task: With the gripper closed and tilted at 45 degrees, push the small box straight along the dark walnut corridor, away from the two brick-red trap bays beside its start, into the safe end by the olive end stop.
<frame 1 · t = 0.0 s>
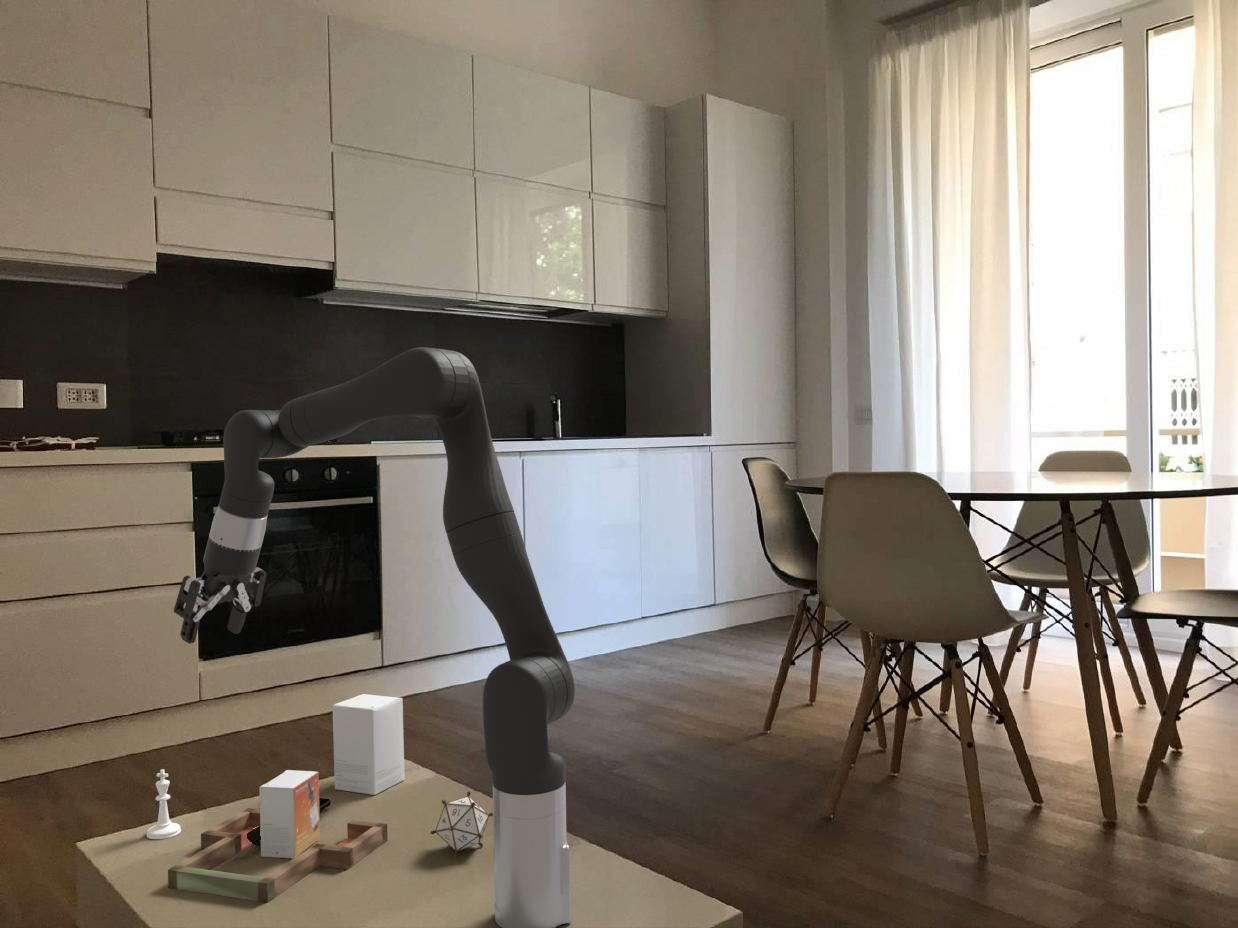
hand: (211, 636, 156), 31 cm above the table, tool tilted 20°, fingers open, 8 cm apart
small box: (291, 849, 154), on the table
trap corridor: (278, 855, 151), on the table
game die: (462, 850, 153), on the table
supplement box: (370, 785, 182), on the table
chess piece: (164, 834, 161), on the table
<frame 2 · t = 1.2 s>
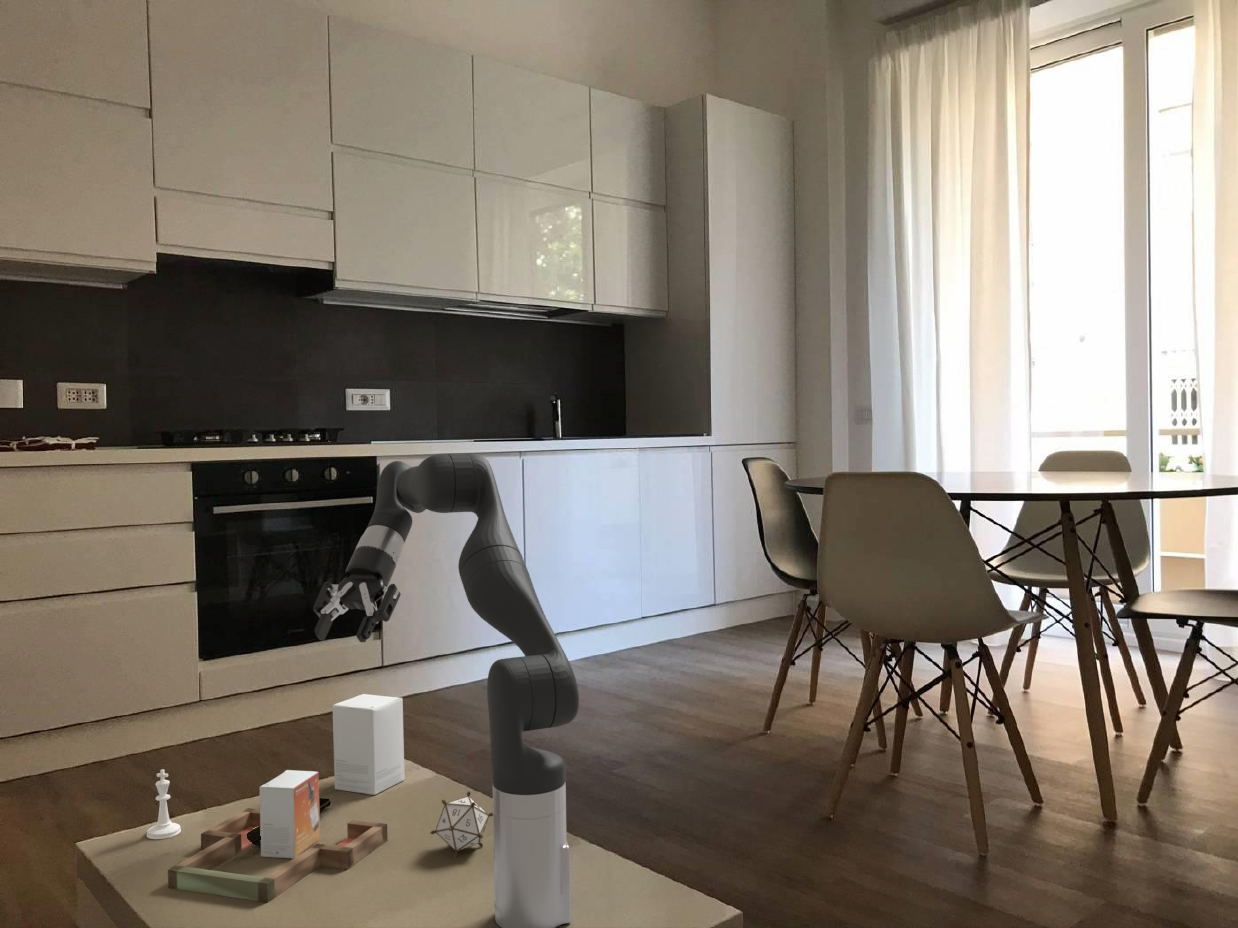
hand: (339, 638, 167), 29 cm above the table, tool tilted 45°, fingers open, 7 cm apart
nothing on the table moved.
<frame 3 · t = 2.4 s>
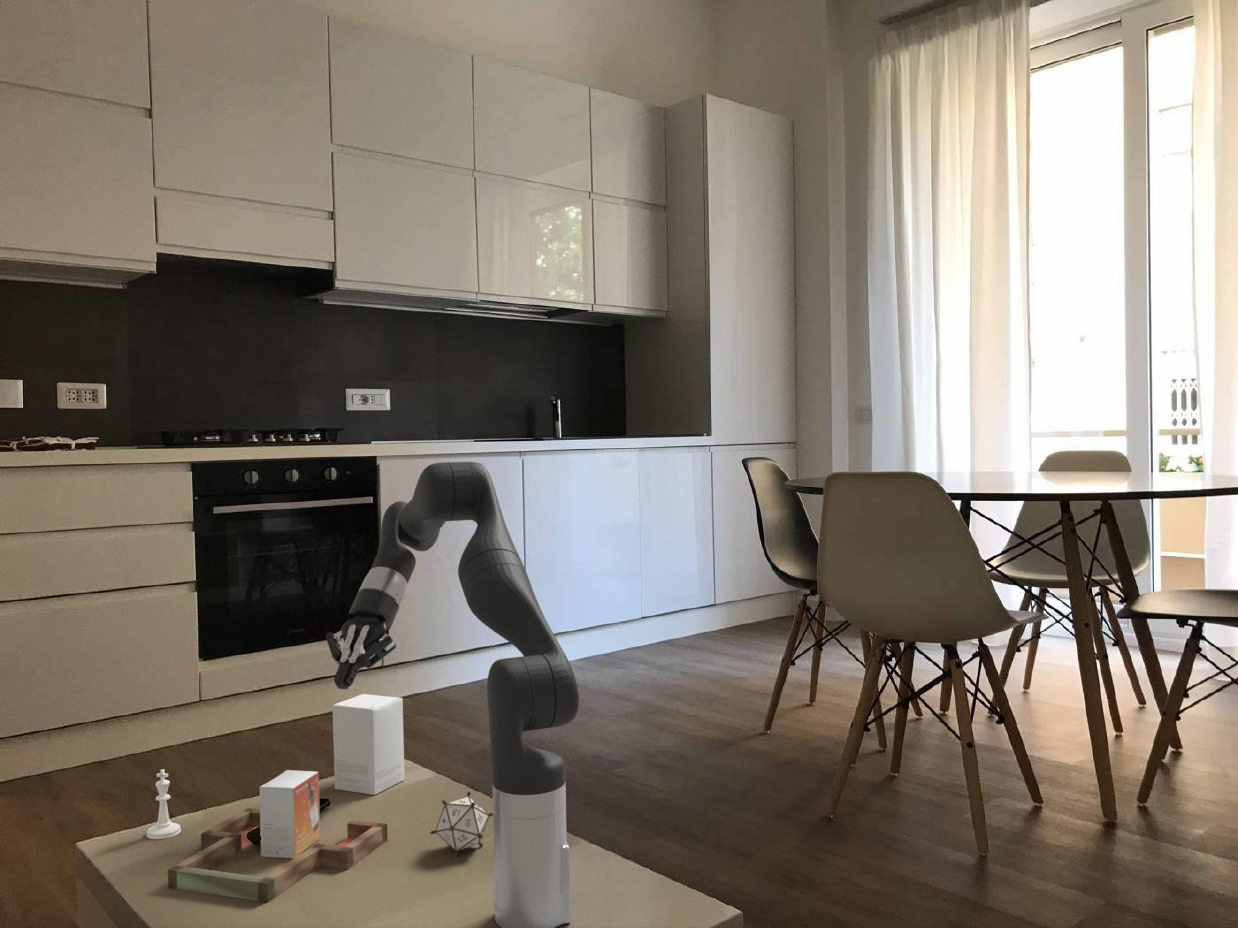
hand: (340, 686, 167), 21 cm above the table, tool tilted 45°, fingers closed
nothing on the table moved.
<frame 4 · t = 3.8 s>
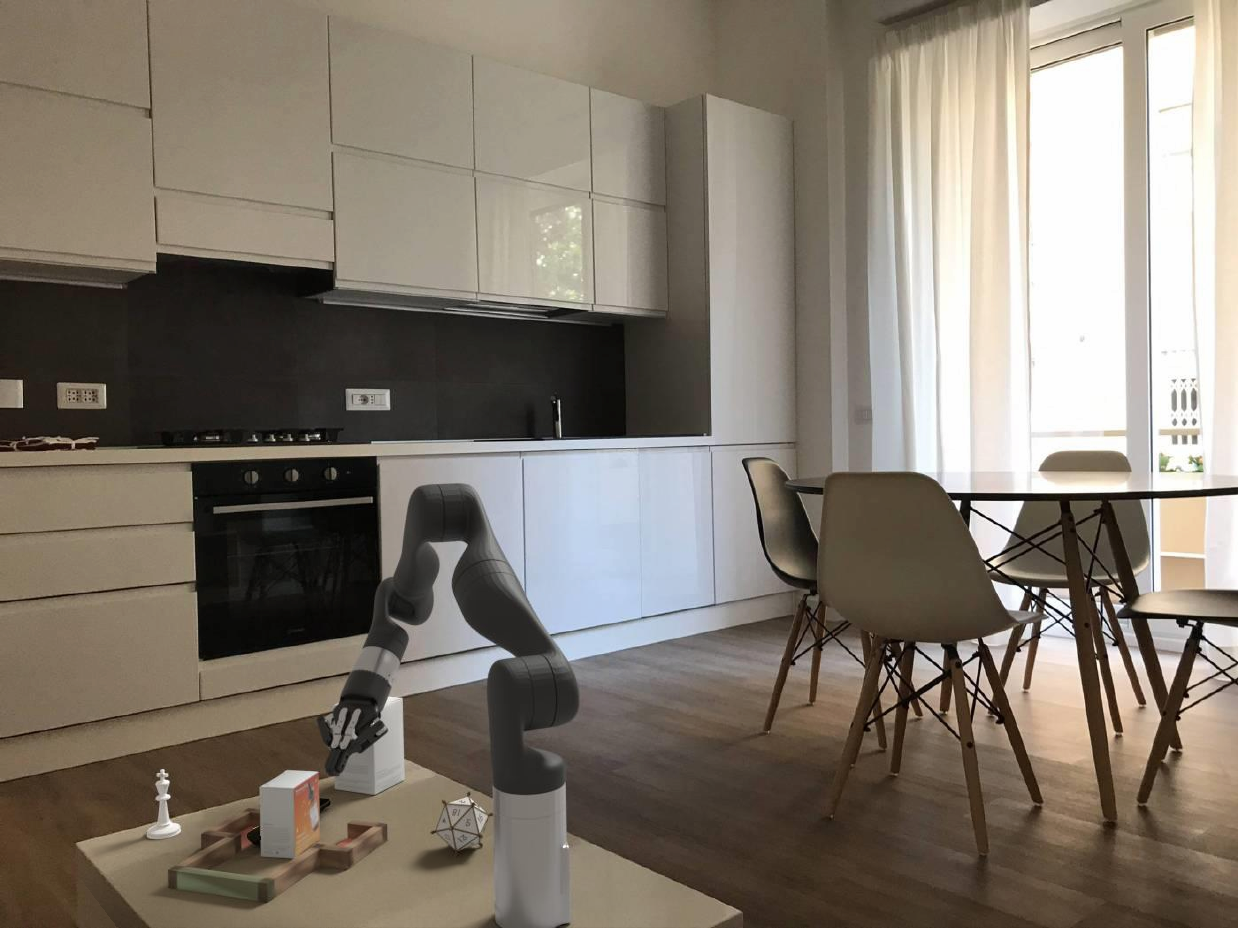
hand: (331, 773, 164), 8 cm above the table, tool tilted 45°, fingers closed
nothing on the table moved.
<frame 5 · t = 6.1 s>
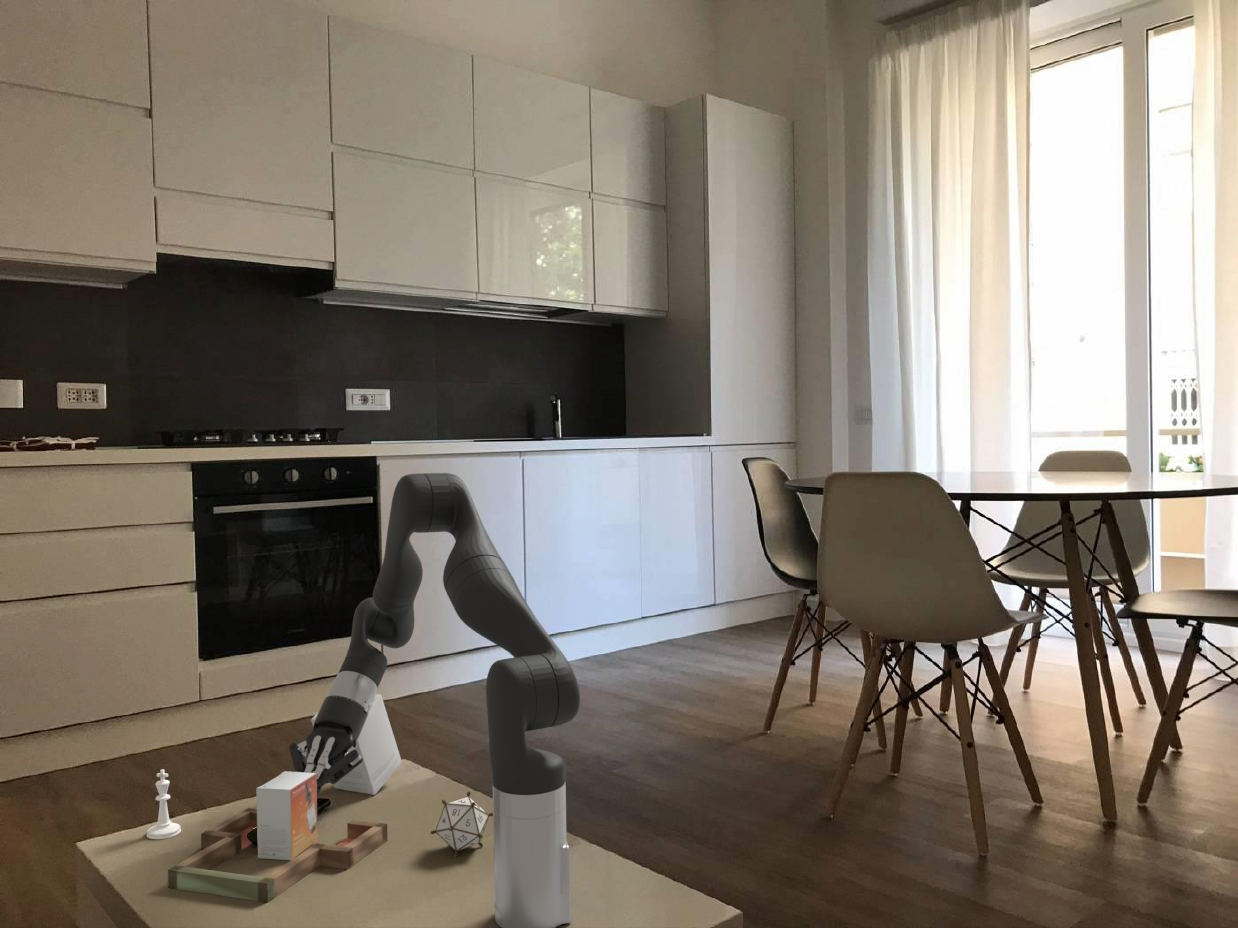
hand: (303, 805, 158), 5 cm above the table, tool tilted 45°, fingers closed
small box: (288, 850, 153), on the table, touching gripper
supplement box: (369, 775, 182), point 2 cm above the table, touching arm
everything else where it was.
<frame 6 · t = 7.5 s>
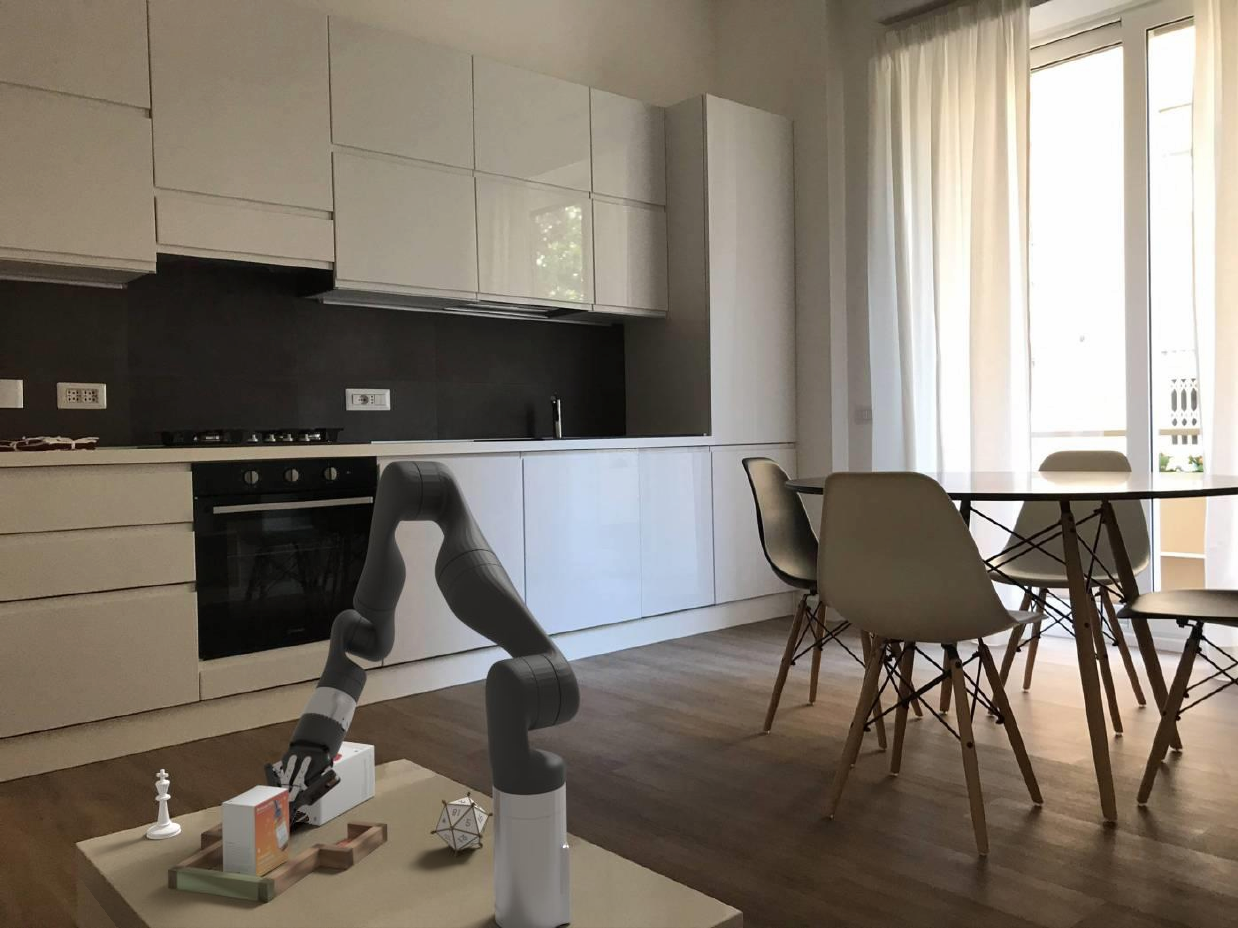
hand: (278, 828, 151), 4 cm above the table, tool tilted 45°, fingers closed
small box: (257, 869, 147), on the table, touching gripper
supplement box: (354, 766, 178), point 5 cm above the table
everything else where it was.
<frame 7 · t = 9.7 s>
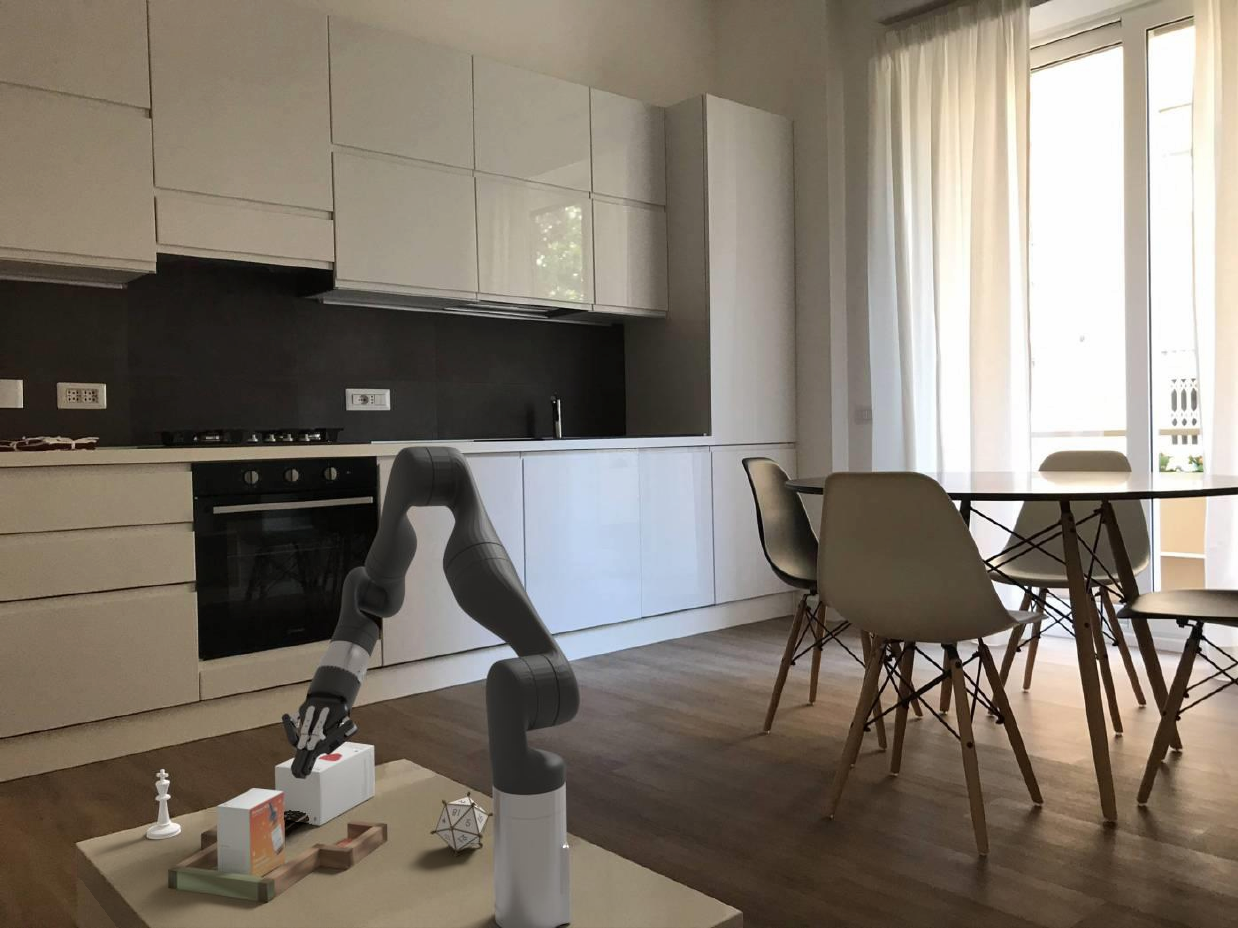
hand: (298, 776, 155), 10 cm above the table, tool tilted 45°, fingers closed
small box: (252, 872, 146), on the table
everything else where it was.
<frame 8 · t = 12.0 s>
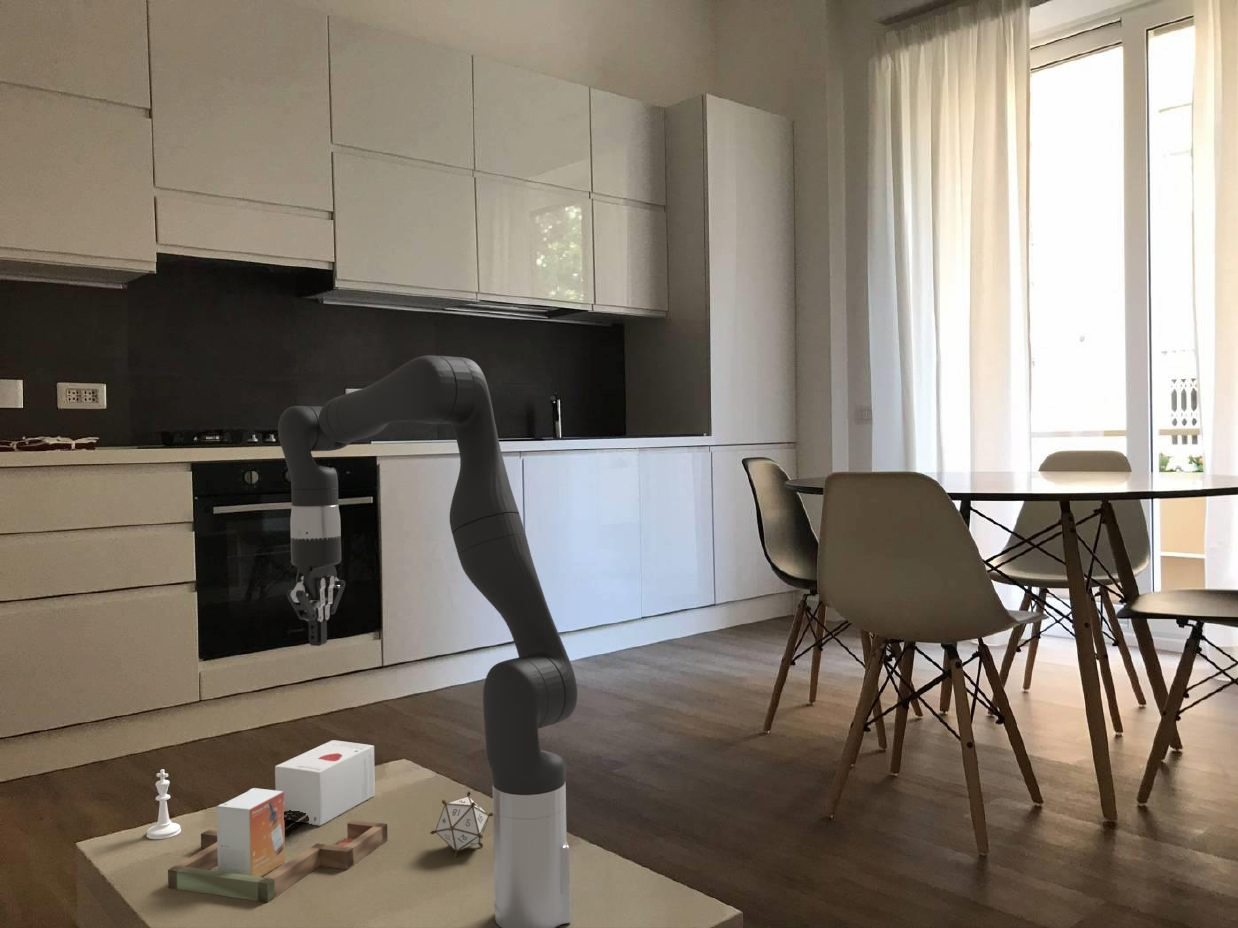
hand: (318, 644, 161), 29 cm above the table, tool pointing down, fingers closed
nothing on the table moved.
at the end: small box inside the target area (0.9 cm from its centre), on the table; small box tilted 0° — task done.
